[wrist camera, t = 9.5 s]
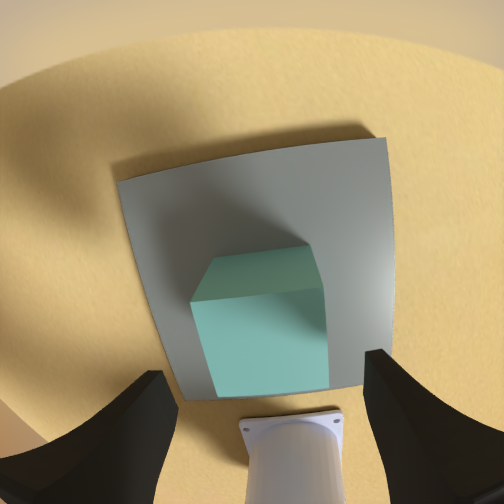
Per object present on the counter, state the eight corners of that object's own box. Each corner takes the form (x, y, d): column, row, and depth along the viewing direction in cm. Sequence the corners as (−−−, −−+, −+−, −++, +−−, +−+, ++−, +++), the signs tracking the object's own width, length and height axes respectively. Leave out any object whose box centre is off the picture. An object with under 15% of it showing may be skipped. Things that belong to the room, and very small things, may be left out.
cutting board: (383, 366, 20) (388, 379, 18) (189, 386, 22) (184, 400, 20) (376, 137, 15) (385, 137, 14) (128, 179, 17) (116, 182, 16)
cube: (318, 328, 17) (329, 387, 13) (231, 338, 18) (218, 397, 13) (310, 245, 16) (323, 286, 11) (213, 257, 17) (189, 302, 12)
